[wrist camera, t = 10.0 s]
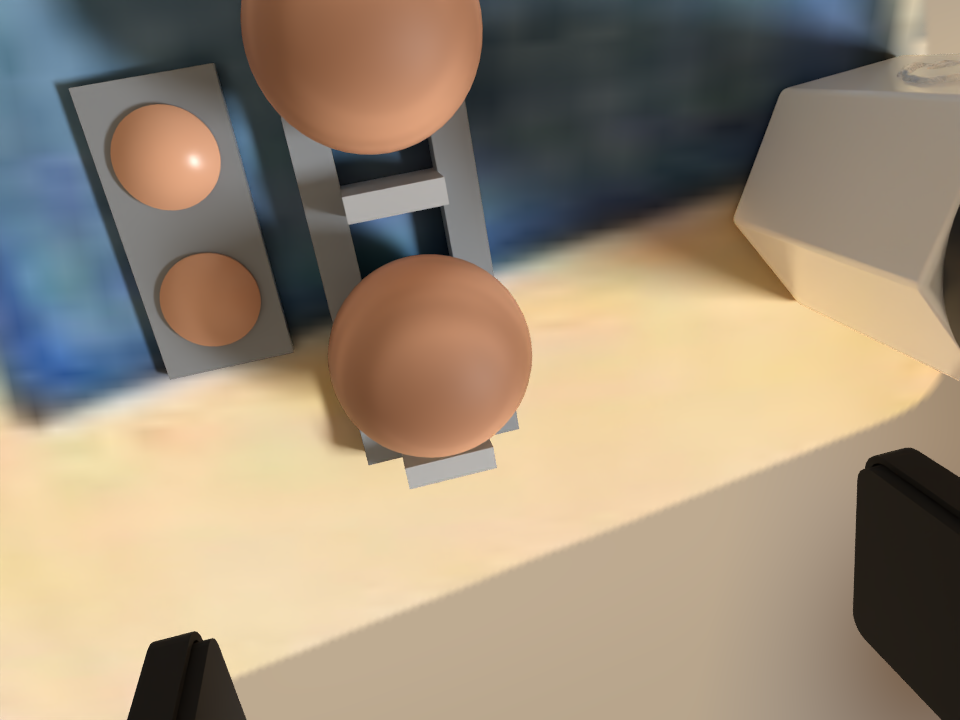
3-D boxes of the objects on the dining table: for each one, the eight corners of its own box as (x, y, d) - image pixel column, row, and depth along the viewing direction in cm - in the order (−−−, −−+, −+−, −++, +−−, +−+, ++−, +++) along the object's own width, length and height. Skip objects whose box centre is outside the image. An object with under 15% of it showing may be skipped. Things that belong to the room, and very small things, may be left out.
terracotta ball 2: (307, 256, 24) (303, 312, 19) (492, 218, 25) (541, 261, 19) (350, 424, 26) (357, 519, 21) (518, 385, 27) (568, 466, 22)
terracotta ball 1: (224, -63, 21) (189, -112, 15) (440, -97, 21) (482, -155, 16) (282, 162, 23) (270, 189, 18) (476, 124, 24) (523, 139, 18)
